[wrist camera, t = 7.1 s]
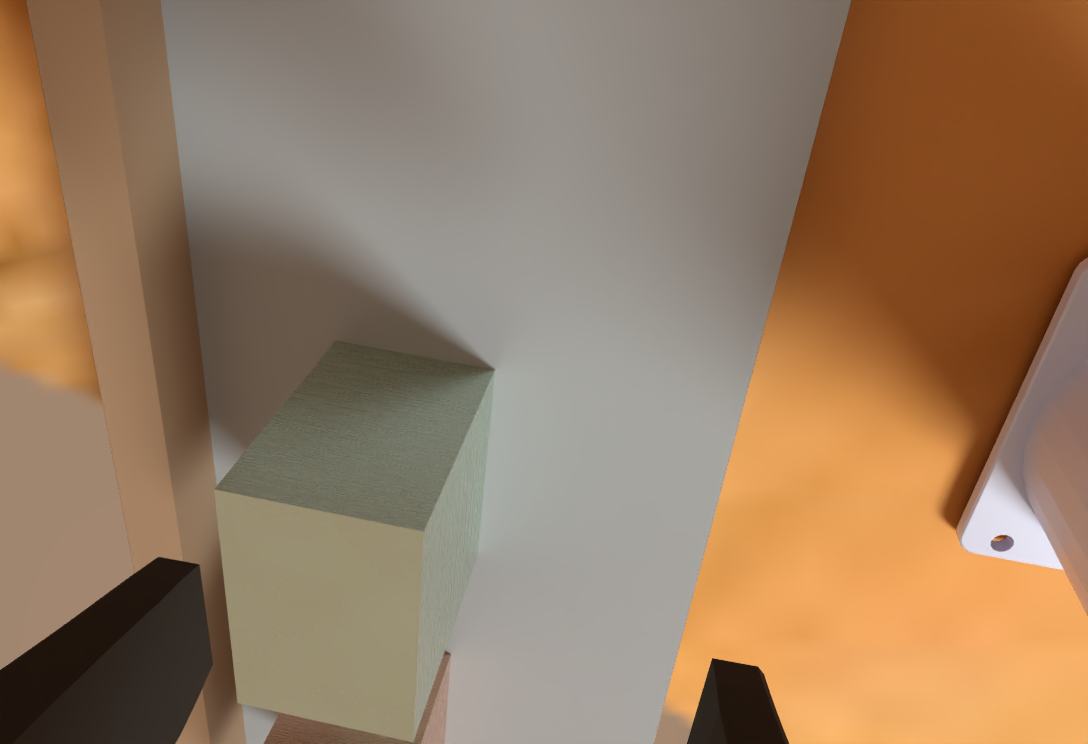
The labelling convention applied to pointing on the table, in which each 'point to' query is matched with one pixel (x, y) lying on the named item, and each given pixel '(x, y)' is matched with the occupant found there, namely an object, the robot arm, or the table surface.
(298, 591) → the sage tin
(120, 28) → the shelf
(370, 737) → the terracotta tin
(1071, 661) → the table surface
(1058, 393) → the robot arm
